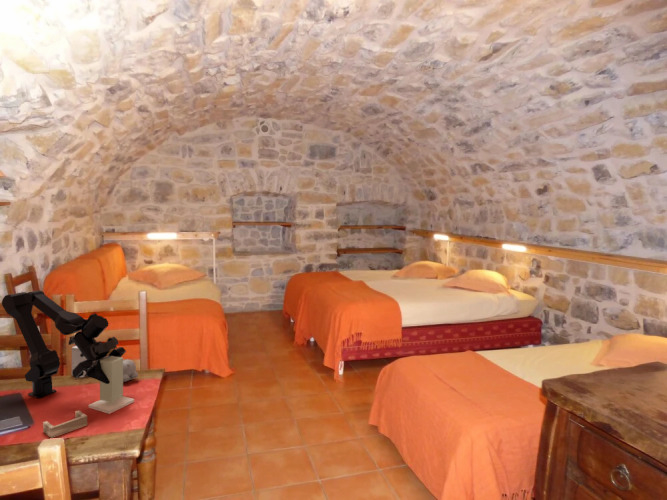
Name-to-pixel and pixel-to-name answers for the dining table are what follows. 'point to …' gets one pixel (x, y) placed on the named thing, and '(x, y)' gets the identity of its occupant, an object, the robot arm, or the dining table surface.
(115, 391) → the sage block
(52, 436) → the birch stall
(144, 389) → the dining table surface
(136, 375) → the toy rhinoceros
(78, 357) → the skincare box
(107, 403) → the ceramic tile
